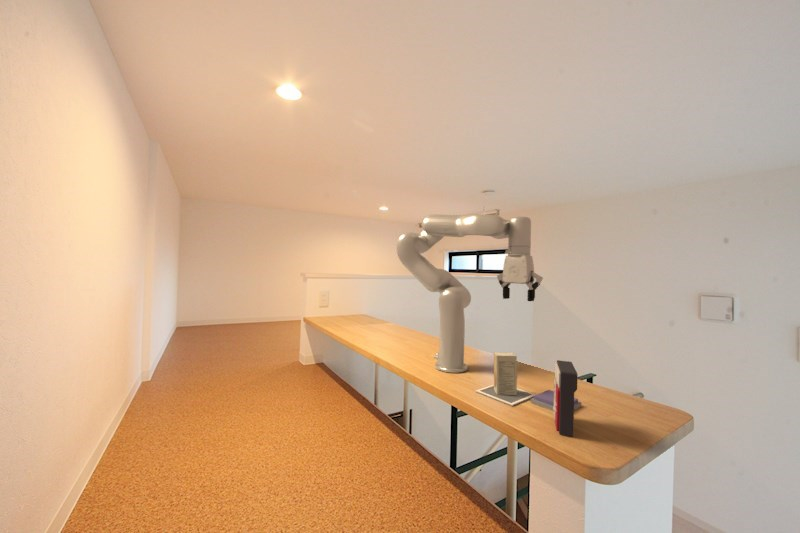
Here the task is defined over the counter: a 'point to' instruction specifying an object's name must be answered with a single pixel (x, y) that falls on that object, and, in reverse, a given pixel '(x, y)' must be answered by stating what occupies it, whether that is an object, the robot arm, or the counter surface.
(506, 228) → the robot arm
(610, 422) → the counter surface
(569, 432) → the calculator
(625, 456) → the counter surface
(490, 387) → the white picture frame
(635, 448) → the counter surface
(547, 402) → the ink pad
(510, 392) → the skincare box
